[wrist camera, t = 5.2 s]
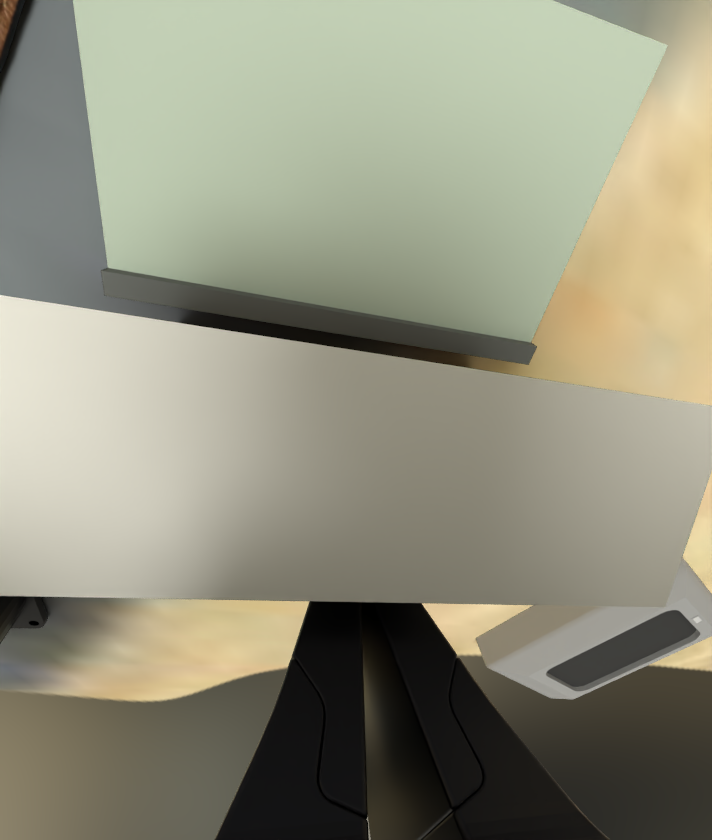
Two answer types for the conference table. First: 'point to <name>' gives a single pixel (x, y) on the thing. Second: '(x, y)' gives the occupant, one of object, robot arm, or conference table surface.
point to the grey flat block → (596, 639)
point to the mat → (355, 158)
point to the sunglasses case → (8, 25)
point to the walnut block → (326, 472)
